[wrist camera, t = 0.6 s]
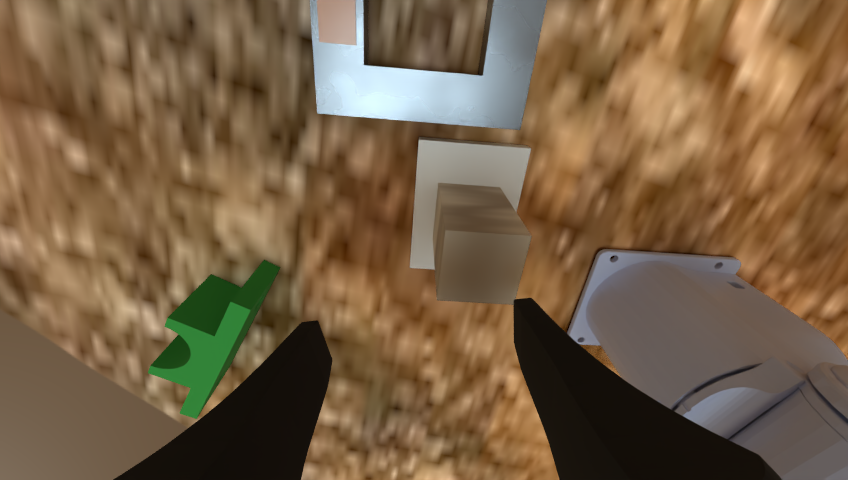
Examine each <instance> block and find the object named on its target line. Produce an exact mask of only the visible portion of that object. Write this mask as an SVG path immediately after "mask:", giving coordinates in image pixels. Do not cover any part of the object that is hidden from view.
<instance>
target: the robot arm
mask: <svg viewBox="0 0 848 480" xmlns="http://www.w3.org/2000/svg"><path fill="white" fill-rule="evenodd" d="M612 256H615V257H614V258H613V259H610V258H611V257H612ZM740 266H741V262H740V261H739V260H738V259H736V258H733V257H720V256H705V255H690V254H675V253H659V252H644V251H629V250H614V249H603V250H601V251H599V252H598V253H597V255H596V258H595V260H594V263H593V266H592V268H591V271H590V273H589V276H588V279H587V281H586V284H585V287H584V289H583V292H582V295H581V297H580V300H579V303H578V305H577V308H576V311H575V313H574V316H573V319H572V321H571V324H570V327H569V329H568V332H567V333H566V332H565V331H564V330H563V329H562V328H560V327H559V326H558V325H557V324H556V323H555V322H554V321H553V320H552V319H551V318H550V317H549V316H548V315H547V314H546V313H545V312H544V311H543V309H542V308H541V307H540V306H539V305H538V304H537V303H536V302H535V301H534V300H533V299H532V298H524V299H515V300H514V344H515V348H516V352H517V356H518V360H519V363H520V367H521V370H522V373H523V375H524V378H525V381H526V383H527V386H528V389H529V391H530V394H531V396H532V399H533V401H534V404H535V407H536V409H537V412H538V414H539V417H540V419H541V422H542V425H543V427H544V430H545V433H546V436H547V439H548V441H549V444H550V448H551V451H552V455H553V458H554V462H555V465H556V469H557V472H558V476H559V479H560V480H848V360H847V358H846V357H845V355H844V354H843V353H842V351H841V350H840V349H839V348H838V346H837V345H836V344H835V343H834V342H833V341H832V340H831V339H830V338H828V337H827V336H826V335H825V334H823V333H822V332H821V331H819V330H818V329H816V328H815V327H813V326H812V325H810V324H809V323H807V322H806V321H804V320H803V319H801V318H800V317H798V316H797V315H795V314H794V313H792V312H791V311H789V310H788V309H786V308H785V307H783V306H782V305H780V304H779V303H777V302H776V301H774V300H773V299H771V298H770V297H768V296H767V295H765V294H764V293H762V292H761V291H759V290H758V289H756V288H755V287H753V286H752V285H750V284H749V283H747V282H746V281H744V280H743V279H741V278H740V277H738V276H737V275H735V274H736V273H737V271H738V270H739V268H740ZM580 337H581V338H580ZM579 344H582V345H601V347H602V348H603V350H604V351H605V353H606V354H607V356H608V357H609V359H610V361H611V362H612V364H613V365H614V367H615V368H616V370H617V371H618V373H619V375H620V376H621V377H619V376H618V375H617V374H615V373H614V372H613V371H611V370H610V369H608V368H607V367H606V366H605V365H603V364H602V363H601V362H599V361H598V360H597V359H596V358H594V357H593V356H592V355H591V354H590V353H588V352H587V351H586V350H585V349H584V348H582V347H581V346H580V345H579ZM331 365H332V357H331V355H330V352H329V349H328V347H327V344H326V341H325V338H324V336H323V333H322V330H321V328H320V325H319V322H318V321H309V322H302V323H301V324H300V325H299V326H298V327H297V328H296V329H295V330H294V331H293V332H292V333H291V334H290V335H289V336H288V337H287V338H286V339H285V340H284V341H283V342H282V343H281V344H280V346H279V347H278V348H277V349H276V350H275V351H274V352H273V353H272V354H271V355H270V356H269V357H268V358H267V359H266V360H265V361H264V362H263V363H262V364H261V365H260V366H259V367H258V368H257V369H256V370H255V371H254V372H253V373H252V374H251V375H250V376H249V377H248V378H247V379H246V380H245V381H244V382H243V383H241V384H240V385H239V386H238V387H237V388H236V389H235V390H234V391H233V392H232V393H231V394H230V395H229V396H227V397H226V398H225V399H224V400H223V401H222V402H221V403H219V404H218V405H217V406H216V407H215V408H213V409H212V410H211V411H210V412H209V413H207V414H206V415H205V416H204V417H202V418H201V419H200V420H199V421H197V422H196V423H195V424H193V425H192V426H191V427H189V428H188V429H187V430H185V431H184V432H183V433H181V434H180V435H179V436H177V437H176V438H175V439H173V440H172V441H171V442H169V443H168V444H167V445H165V446H164V447H162V448H161V449H159V450H158V451H156V452H155V453H154V454H152V455H151V456H149V457H148V458H146V459H145V460H143V461H142V462H140V463H139V464H137V465H136V466H134V467H132V468H131V469H130V470H128V471H126V472H125V473H123V474H122V475H120V476H118V477H117V478H115V479H114V480H301V477H302V472H303V467H304V463H305V459H306V456H307V452H308V448H309V445H310V442H311V439H312V436H313V432H314V429H315V426H316V423H317V420H318V417H319V413H320V410H321V407H322V404H323V401H324V397H325V394H326V391H327V387H328V382H329V377H330V371H331Z"/></svg>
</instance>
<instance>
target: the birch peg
mask: <svg viewBox="0 0 848 480" xmlns="http://www.w3.org/2000/svg"><path fill="white" fill-rule="evenodd" d="M531 237H532V236H531V234H530V233H529V231H528V230H527V228H526V226H525V225H524V223H523V222H522V220H521V219H520V217H519V216H518V214H517V213H516V211H515V210H514V208H513V206H512V205H511V203H510V202H509V200H508V199H507V197H506V196H505V194H504V193H503V191H502V189H501V188H500V187H490V186H477V185H463V184H449V183H438V190H437V199H436V209H435V219H434V228H433V252H434V267H435V281H436V295H437V300H441V301H458V302H476V303H493V304H511V305H514V300H515V298H516V295H517V291H518V287H519V283H520V279H521V275H522V272H523V268H524V264H525V260H526V256H527V252H528V249H529V245H530V241H531Z"/></svg>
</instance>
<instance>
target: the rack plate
mask: <svg viewBox="0 0 848 480" xmlns="http://www.w3.org/2000/svg"><path fill="white" fill-rule="evenodd" d="M546 3H547V0H488V6H487V13H486V20H485V27H484V35H483V42H482V49H481V56H480V63H479V71H478V75H473V74H462V73H451V72H440V71H429V70H417V69H406V68H395V67H384V66H372V65H368V0H310V12H311V27H312V42H313V56H314V71H315V86H316V101H317V113H319V114H331V115H343V116H356V117H368V118H380V119H392V120H405V121H417V122H429V123H441V124H453V125H466V126H478V127H490V128H502V129H515V130H520V128H521V123H522V119H523V114H524V109H525V104H526V99H527V94H528V90H529V85H530V80H531V75H532V70H533V66H534V61H535V56H536V51H537V46H538V41H539V37H540V32H541V27H542V22H543V17H544V13H545V8H546Z"/></svg>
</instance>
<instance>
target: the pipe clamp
mask: <svg viewBox="0 0 848 480" xmlns="http://www.w3.org/2000/svg"><path fill="white" fill-rule="evenodd" d="M279 269H280V267H278V266H276V265H274V264H272V263H270V262H268V261H266V260H264V261H263V262H262V263H261V265H260V266H259V267H258V268H257V269H256V271H255V272H254V273H253V274H252V276H251V277H250V278H249V279H248V281H247V282H246V283H245V284H244V286H243V287H242V288H241V287H239V286H237V285H235V284H232V283H230V282H228V281H225V280H223V279H221V278H219V277H216V276H214V275H212V274H211V275H210V276H209V277H208V278H207V279H206V280H205V281H204V282H203V283H202V284H201V285H200V286H199V287H198V288H197V289H196V290H195V291H194V292H193V293H192V294H191V295H190V296H189V297H188V298H187V299H186V300H185V301H184V302H183V303H182V304H181V305H180V306H179V307H178V308H177V309H176V310H175V311H174V312H173V313H172V314H171V315H170V316H169V317H168V318H167V321H166V324H165V327H167V328H169V329H171V330H173V331H175V332H176V333H178V334H179V335H178V336H177V337H176V338H175V339H174V340H173V341H172V342H171V344H170V345H169V346H168V347H167V348H166V349H165V350H164V351H163V352H162V354H161V355H160V356H159V357H158V358H157V359H156V360H155V361H154V362H153V364H152V365H151V366H150V368H149V371H148V373H149V374H152V375H155V376H158V377H161V378H164V379H167V380H169V381H172V382H175V383H178V384H181V385H184V386H187V387H190V388H191V389H190V391H189V394H188V396H187V398H186V400H185V402H184V405H183V407H182V409H181V411H180V414H183V415H186V416H189V417H192V418H195V419H197V417H198V416H199V414H200V412H201V411H202V409H203V408H204V406H205V405H206V403H207V401H208V400H209V398H210V397H211V395H212V393H213V392H214V390H215V389H216V387H217V386H218V384H219V382H220V381H221V379H222V378H223V376H224V375H225V373H226V371H227V370H228V368H229V367H230V365H231V363H232V361H233V359H234V357H235V355H236V353H237V351H238V349H239V347H240V345H241V343H242V341H243V339H244V337H245V335H246V334H247V332H248V330H249V328H250V326H251V324H252V322H253V320H254V318H255V316H256V314H257V312H258V310H259V308H260V306H261V304H262V302H263V300H264V299H265V297H266V295H267V293H268V291H269V289H270V287H271V285H272V283H273V281H274V279H275V277H276V275H277V273H278V271H279Z"/></svg>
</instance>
